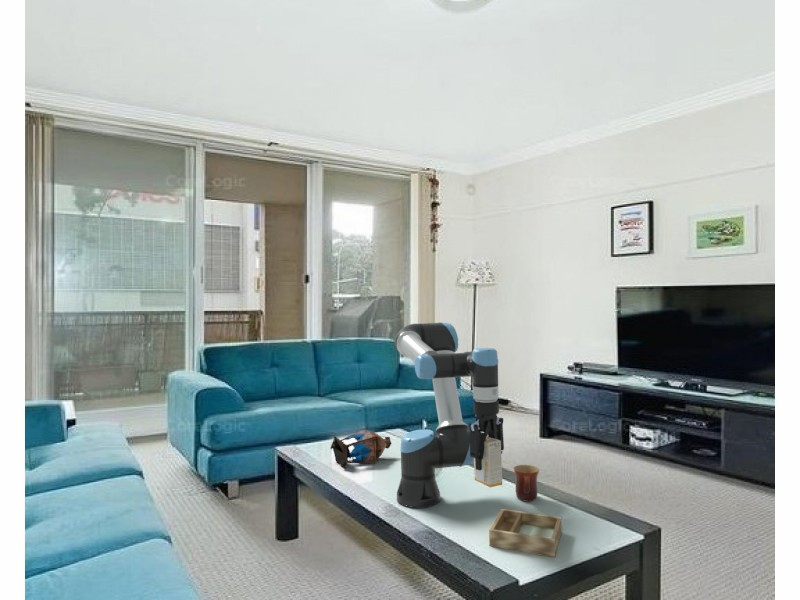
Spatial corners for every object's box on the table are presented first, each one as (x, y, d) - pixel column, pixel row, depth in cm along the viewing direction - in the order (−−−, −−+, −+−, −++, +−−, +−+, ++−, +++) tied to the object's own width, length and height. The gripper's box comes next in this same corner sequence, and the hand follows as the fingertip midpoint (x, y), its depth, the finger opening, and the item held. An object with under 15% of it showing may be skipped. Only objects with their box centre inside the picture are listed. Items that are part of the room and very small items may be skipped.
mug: (513, 492, 192) (513, 464, 192) (538, 494, 190) (538, 465, 190) (513, 506, 180) (513, 475, 180) (540, 507, 179) (540, 477, 178)
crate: (489, 545, 153) (489, 530, 153) (501, 522, 168) (501, 508, 168) (554, 557, 146) (554, 540, 146) (561, 532, 161) (561, 517, 161)
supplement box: (503, 485, 158) (501, 440, 158) (489, 488, 156) (488, 442, 156) (486, 477, 165) (485, 434, 165) (473, 480, 163) (472, 436, 163)
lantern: (339, 481, 224) (392, 467, 236) (347, 459, 214) (402, 446, 226) (326, 449, 234) (377, 437, 246) (333, 426, 224) (386, 415, 236)
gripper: (475, 406, 152) (477, 488, 151) (515, 397, 164) (517, 473, 164) (455, 403, 157) (457, 482, 157) (495, 394, 170) (497, 468, 170)
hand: (487, 477), depth 161 cm, fingers closed on supplement box, 6 cm apart
